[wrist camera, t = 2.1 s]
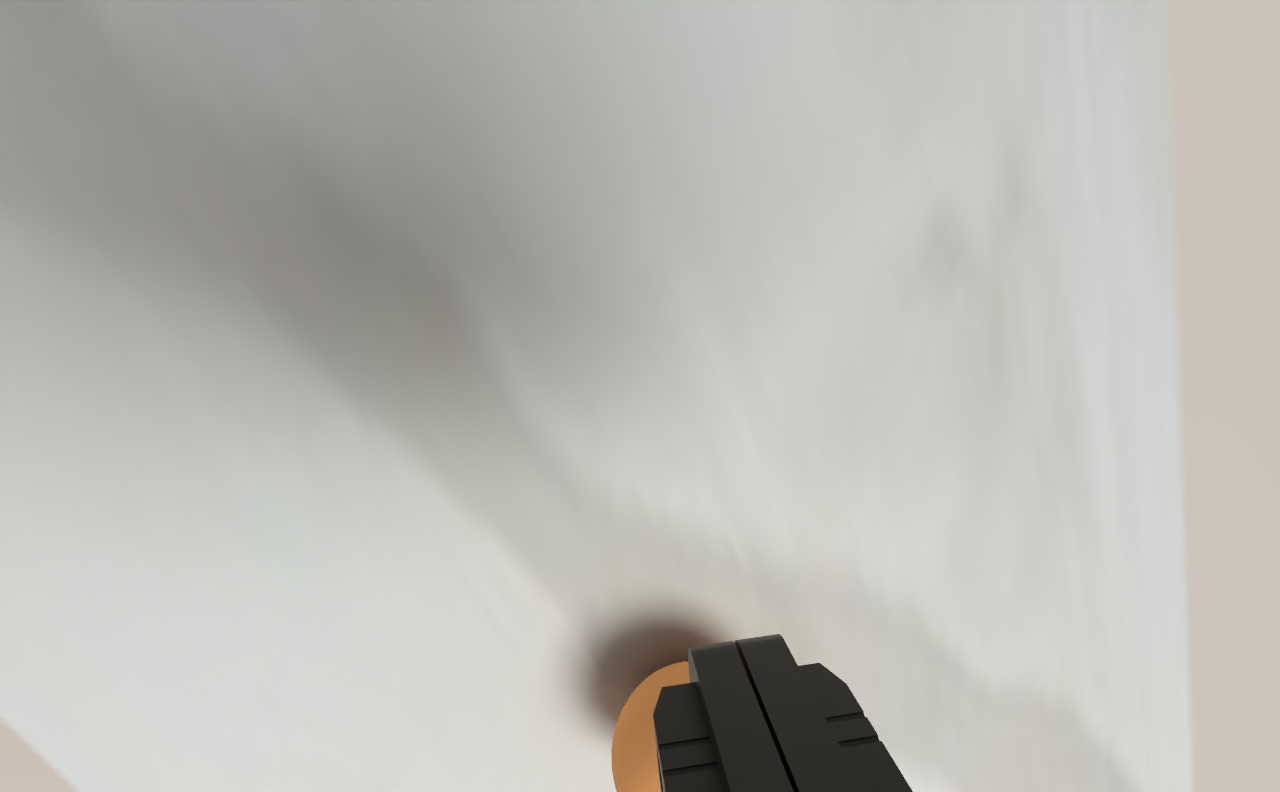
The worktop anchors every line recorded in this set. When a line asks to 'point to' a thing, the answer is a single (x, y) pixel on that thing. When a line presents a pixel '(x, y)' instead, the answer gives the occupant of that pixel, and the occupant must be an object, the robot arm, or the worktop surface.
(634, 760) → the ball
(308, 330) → the worktop surface
